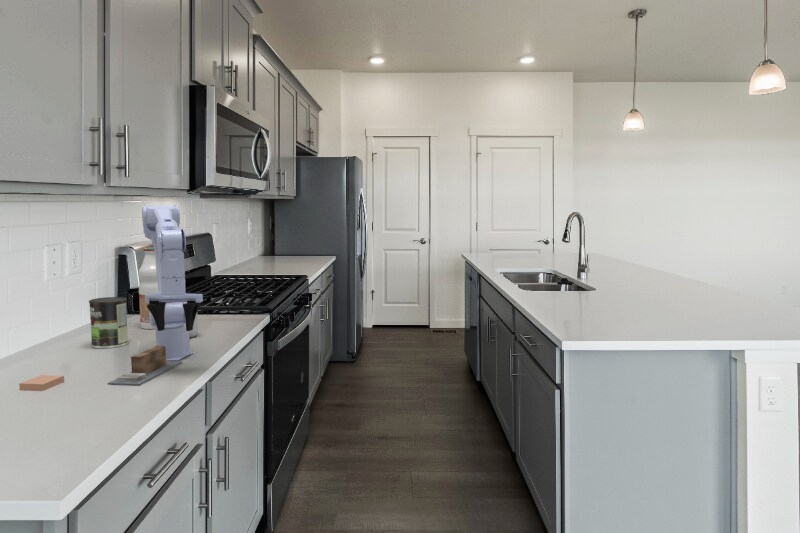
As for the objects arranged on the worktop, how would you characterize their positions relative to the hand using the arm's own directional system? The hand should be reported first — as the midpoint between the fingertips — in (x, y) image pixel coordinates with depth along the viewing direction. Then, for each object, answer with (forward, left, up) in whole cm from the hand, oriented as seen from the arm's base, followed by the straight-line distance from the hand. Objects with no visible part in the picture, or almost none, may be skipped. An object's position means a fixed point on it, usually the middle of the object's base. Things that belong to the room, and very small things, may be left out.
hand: (175, 330), depth 154 cm
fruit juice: (-54, -36, -11) cm, 66 cm away
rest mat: (+3, -6, -10) cm, 13 cm away
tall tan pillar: (+4, -6, -10) cm, 13 cm away
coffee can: (-26, -35, -11) cm, 45 cm away
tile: (+12, -25, -10) cm, 30 cm away
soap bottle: (-39, -19, -11) cm, 45 cm away
